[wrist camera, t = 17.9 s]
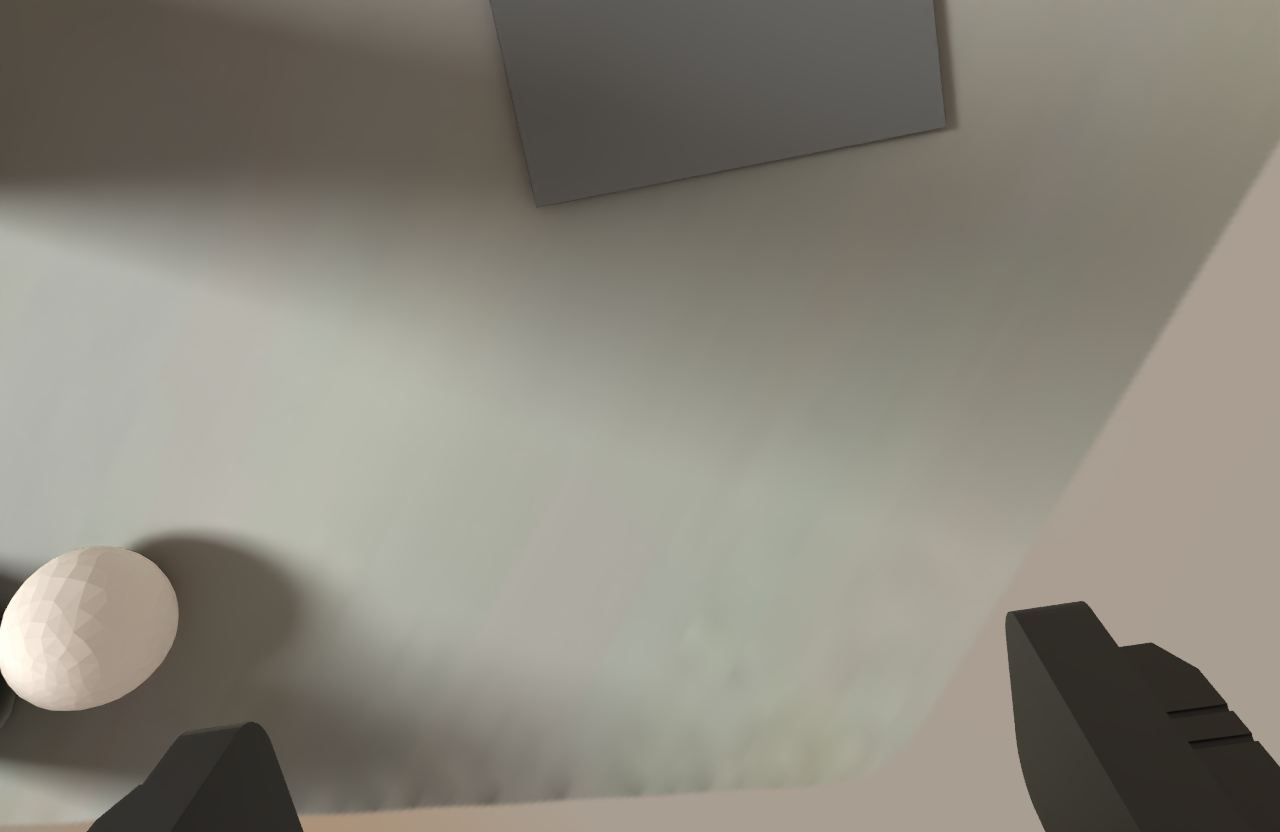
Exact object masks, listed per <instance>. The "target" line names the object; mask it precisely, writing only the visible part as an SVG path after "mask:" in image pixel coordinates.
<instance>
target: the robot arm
mask: <svg viewBox="0 0 1280 832" xmlns="http://www.w3.org/2000/svg"><path fill="white" fill-rule="evenodd" d="M1005 626H1006V641H1007V651H1008V661H1009V671H1010V681H1011V691H1012V701H1013V711H1014V721H1015V732H1016V740H1017V748H1018V754H1019V758H1020V763H1021V768H1022V772H1023V775H1024V779H1025V783H1026V786H1027V789H1028V792H1029V795H1030V798H1031V801H1032V803H1033V806H1034V808H1035V810H1036V812H1037V815H1038V816H1039V819H1040V821H1041V823H1042V825H1043V828H1044V830H1045V831H1046V832H1280V767H1279V765H1278V764H1277V763H1276V762H1275V761H1274V759H1273V758H1272V757H1271V756H1270V755H1269V753H1268V752H1267V751H1266V750H1265V749H1264V747H1263V746H1262V745H1261V744H1260V743H1259V741H1254V740H1253V737H1252V733H1251V732H1250V731H1249V729H1248V728H1247V727H1246V726H1245V725H1244V723H1243V722H1242V721H1241V720H1240V718H1239V717H1238V716H1237V715H1236V714H1235V713H1234V711H1229V709H1228V706H1227V703H1226V702H1225V700H1224V699H1223V698H1222V697H1221V696H1220V694H1219V693H1218V692H1217V691H1216V690H1215V688H1213V686H1212V685H1211V684H1210V683H1209V681H1208V680H1207V679H1206V678H1205V677H1204V675H1203V674H1202V673H1201V672H1200V670H1199V669H1198V668H1196V667H1194V666H1192V665H1190V664H1189V663H1187V662H1185V661H1183V660H1182V659H1180V658H1178V657H1176V656H1174V655H1173V654H1171V653H1169V652H1167V651H1166V650H1164V649H1162V648H1160V647H1159V646H1157V645H1155V644H1153V643H1145V644H1138V645H1131V646H1124V647H1118V645H1117V644H1116V642H1115V641H1114V640H1113V638H1112V637H1111V636H1110V634H1109V633H1108V632H1107V630H1106V629H1105V628H1104V626H1103V625H1102V623H1101V622H1100V620H1099V619H1098V618H1097V617H1096V615H1095V614H1094V612H1093V611H1092V609H1091V608H1090V607H1089V606H1088V605H1087V604H1086V603H1085V602H1083V601H1079V602H1072V603H1065V604H1059V605H1051V606H1045V607H1038V608H1031V609H1025V610H1018V611H1011V612H1008V613H1007V616H1006V623H1005ZM87 832H303V829H302V827H301V824H300V821H299V818H298V816H297V813H296V810H295V807H294V805H293V802H292V799H291V796H290V793H289V791H288V788H287V785H286V782H285V780H284V777H283V774H282V771H281V769H280V766H279V763H278V760H277V758H276V755H275V752H274V749H273V747H272V744H271V741H270V739H269V737H268V735H267V733H266V731H265V730H264V729H263V728H262V727H261V726H260V725H259V724H257V723H254V722H248V723H241V724H234V725H227V726H221V727H214V728H207V729H200V730H194V731H188V732H185V733H183V734H182V735H180V736H179V737H178V739H177V740H176V741H175V742H174V743H173V745H172V746H171V747H170V749H169V750H168V751H167V753H166V754H165V755H164V757H163V758H162V759H161V761H160V762H159V763H158V765H157V766H156V767H155V769H154V770H153V771H152V773H151V774H150V775H149V777H148V778H147V779H146V781H145V782H144V783H143V785H139V786H137V787H136V788H135V789H134V790H133V791H131V792H130V793H129V794H128V795H126V796H125V797H124V798H123V799H122V800H120V801H119V802H118V803H117V804H115V805H114V806H113V807H112V808H111V809H109V810H108V811H107V812H106V813H104V814H103V815H102V816H101V817H100V818H98V819H97V820H96V821H95V822H94V823H93V825H92V826H91V827H90V829H89V830H88V831H87Z"/></svg>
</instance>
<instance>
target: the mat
mask: <svg viewBox="0 0 1280 832" xmlns="http://www.w3.org/2000/svg"><path fill="white" fill-rule="evenodd" d="M490 3H491V8H492V12H493V17H494V21H495V25H496V30H497V34H498V39H499V43H500V48H501V52H502V56H503V61H504V65H505V70H506V74H507V78H508V83H509V87H510V92H511V96H512V101H513V105H514V109H515V114H516V118H517V123H518V127H519V131H520V136H521V140H522V145H523V149H524V154H525V158H526V162H527V167H528V171H529V176H530V180H531V184H532V189H533V193H534V198H535V202H536V207H541V206H547V205H552V204H557V203H562V202H567V201H572V200H577V199H582V198H587V197H592V196H597V195H603V194H608V193H613V192H618V191H623V190H628V189H633V188H638V187H643V186H648V185H653V184H659V183H664V182H669V181H674V180H679V179H684V178H689V177H694V176H699V175H704V174H709V173H714V172H720V171H725V170H730V169H735V168H740V167H745V166H750V165H755V164H760V163H765V162H770V161H776V160H781V159H786V158H791V157H796V156H801V155H806V154H811V153H816V152H821V151H826V150H832V149H837V148H842V147H847V146H852V145H857V144H862V143H867V142H872V141H877V140H882V139H888V138H893V137H898V136H903V135H908V134H913V133H918V132H923V131H928V130H933V129H938V128H943V127H946V123H945V114H944V104H943V94H942V84H941V74H940V65H939V55H938V45H937V35H936V26H935V16H934V6H933V0H490Z"/></svg>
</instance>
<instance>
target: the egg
mask: <svg viewBox="0 0 1280 832" xmlns="http://www.w3.org/2000/svg"><path fill="white" fill-rule="evenodd" d="M178 619H179V613H178V602H177V598H176V593H175V591H174V589H173V587H172V585H171V583H170V581H169V579H168V578H167V577H166V575H165V574H164V573H163V572H162V571H161V570H160V569H159V568H158V566H157V565H156V564H155V563H153V562H152V561H151V560H149V559H147V558H146V557H144V556H142V555H140V554H139V553H136V552H133V551H129V550H126V549H123V548H118V547H108V546H95V547H89V548H82V549H76V550H73V551H70V552H68V553H66V554H63V555H61V556H59V557H56V558H54V559H52V560H51V561H49V562H48V563H46V564H45V565H44V566H42V567H41V568H39V569H38V570H37V571H36V572H35V573H34V574H32V575H31V576H30V577H29V578H28V579H27V580H26V581H25V582H24V583H23V585H22V586H21V587H20V589H19V590H18V591H17V592H16V594H15V595H14V596H13V598H12V599H11V601H10V603H9V605H8V607H7V608H6V610H5V612H4V616H3V619H2V623H1V627H0V669H1V673H2V675H3V677H4V679H5V680H6V682H7V684H8V685H9V686H10V687H11V688H12V689H13V690H14V691H15V693H16V694H17V695H18V696H19V697H21V698H22V699H24V700H26V701H28V702H30V703H32V704H33V705H35V706H37V707H40V708H44V709H48V710H54V711H73V710H84V709H88V708H92V707H97V706H101V705H104V704H107V703H109V702H112V701H114V700H117V699H119V698H121V697H123V696H124V695H126V694H127V693H129V692H131V691H132V690H134V689H135V688H137V687H138V686H139V685H140V684H142V683H143V682H144V681H145V680H147V679H148V678H149V677H150V676H151V674H152V673H153V672H154V671H155V670H156V669H157V668H158V667H159V665H160V664H161V663H162V662H163V660H164V659H165V657H166V655H167V654H168V652H169V650H170V649H171V647H172V645H173V642H174V639H175V636H176V633H177V627H178Z"/></svg>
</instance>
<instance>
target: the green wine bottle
mask: <svg viewBox="0 0 1280 832" xmlns="http://www.w3.org/2000/svg"><path fill="white" fill-rule="evenodd" d="M0 627H1V621H0ZM15 697H16V693H15V691H14V690H13V689H12V688H11V687H10V686H9V685H8V684H7V682H6V680H5V679H4V677H3V675H2V673H1V669H0V728H1V727H2V726H3V725H4V724H5V722H6V721H7V719H8V717H9V715H10V713H11V710H12V708H13V706H14V702H15Z"/></svg>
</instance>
